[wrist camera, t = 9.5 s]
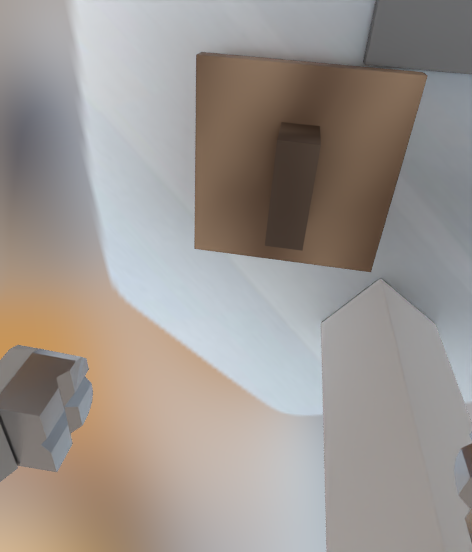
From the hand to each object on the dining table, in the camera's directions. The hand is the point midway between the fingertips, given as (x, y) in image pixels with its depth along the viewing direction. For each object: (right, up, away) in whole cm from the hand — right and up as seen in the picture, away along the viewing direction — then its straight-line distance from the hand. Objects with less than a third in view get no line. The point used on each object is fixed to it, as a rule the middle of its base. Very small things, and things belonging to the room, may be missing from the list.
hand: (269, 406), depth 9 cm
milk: (+10, -1, +23) cm, 25 cm away
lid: (+2, +8, +13) cm, 16 cm away
